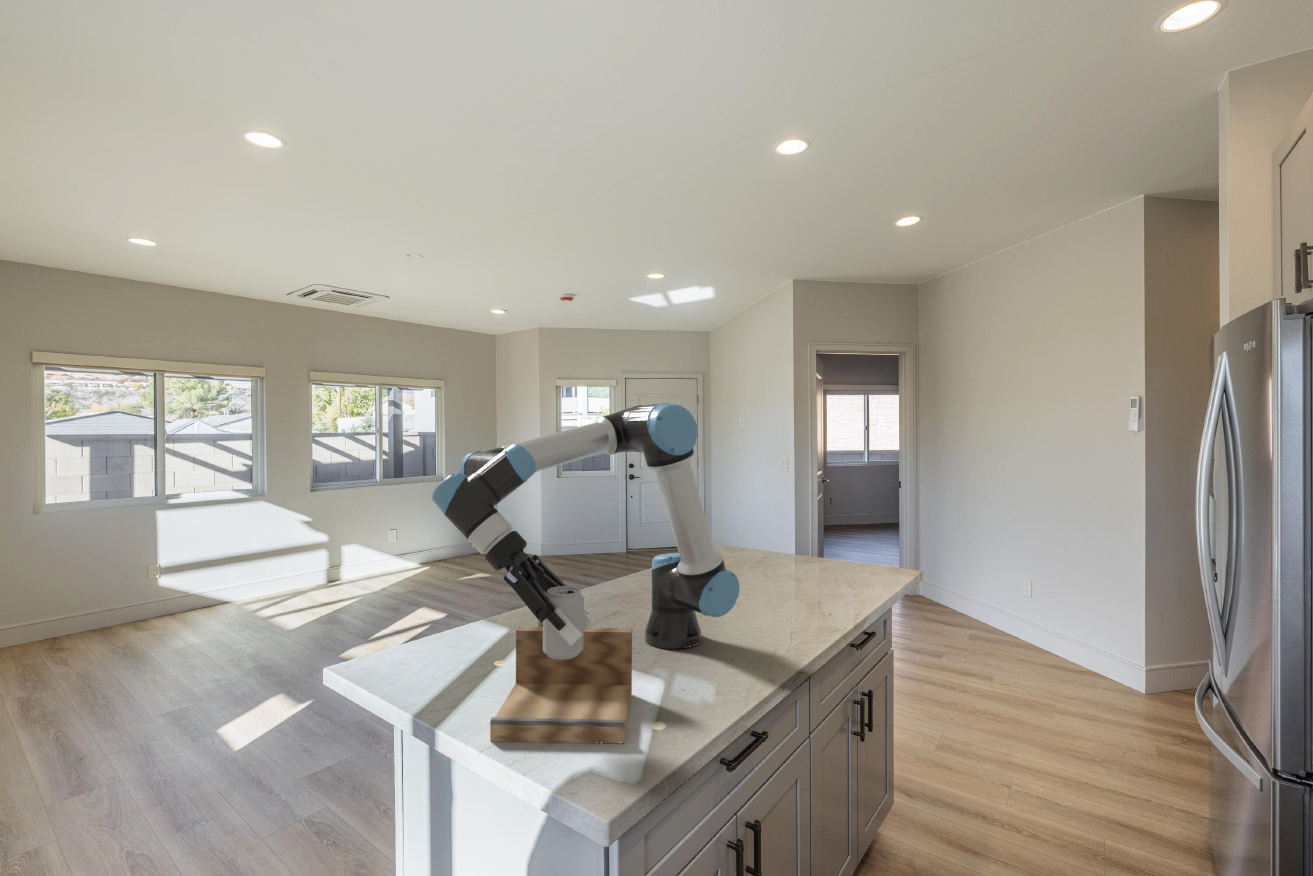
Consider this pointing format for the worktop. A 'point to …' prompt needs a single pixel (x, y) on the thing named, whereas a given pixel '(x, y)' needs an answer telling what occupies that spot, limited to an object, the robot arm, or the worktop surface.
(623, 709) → the wooden l-shaped piece
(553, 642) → the can
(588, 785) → the worktop surface
